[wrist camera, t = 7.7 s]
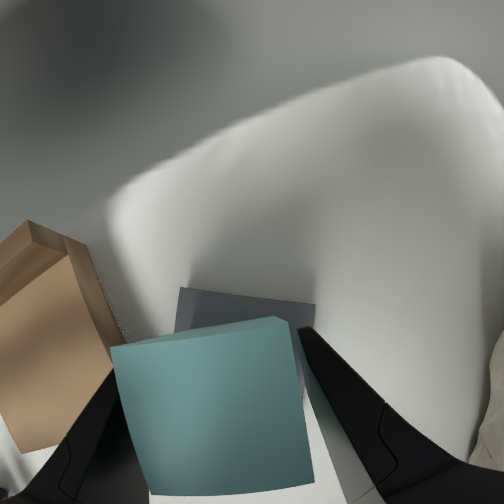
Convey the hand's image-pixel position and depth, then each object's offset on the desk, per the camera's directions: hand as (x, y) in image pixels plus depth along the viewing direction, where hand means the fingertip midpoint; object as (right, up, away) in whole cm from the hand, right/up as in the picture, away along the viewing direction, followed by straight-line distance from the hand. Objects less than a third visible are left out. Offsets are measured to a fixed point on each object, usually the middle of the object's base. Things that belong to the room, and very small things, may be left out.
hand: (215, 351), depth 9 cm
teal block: (0, -2, +5) cm, 5 cm away
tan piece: (-11, -4, +6) cm, 13 cm away
